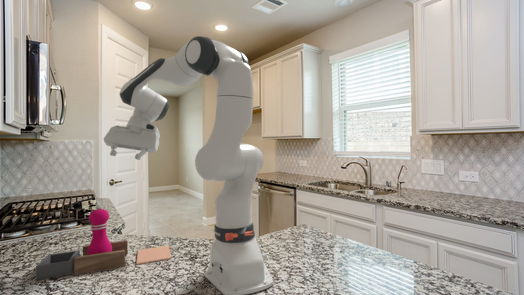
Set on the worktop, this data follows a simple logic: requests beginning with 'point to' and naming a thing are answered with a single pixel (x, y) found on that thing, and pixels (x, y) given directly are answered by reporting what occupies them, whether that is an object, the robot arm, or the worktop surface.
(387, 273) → the worktop surface
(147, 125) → the robot arm
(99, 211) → the pepper mill
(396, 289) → the worktop surface
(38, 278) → the box
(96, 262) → the walnut channel
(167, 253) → the terracotta board
